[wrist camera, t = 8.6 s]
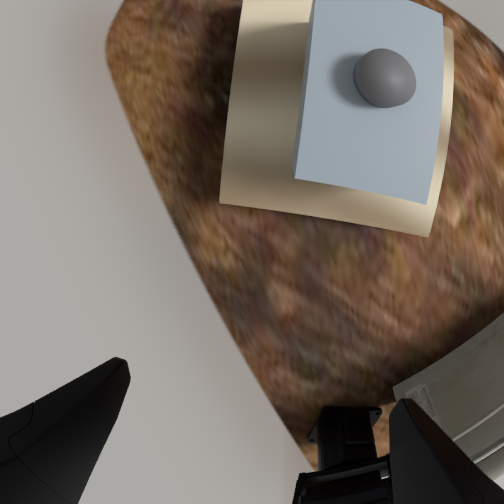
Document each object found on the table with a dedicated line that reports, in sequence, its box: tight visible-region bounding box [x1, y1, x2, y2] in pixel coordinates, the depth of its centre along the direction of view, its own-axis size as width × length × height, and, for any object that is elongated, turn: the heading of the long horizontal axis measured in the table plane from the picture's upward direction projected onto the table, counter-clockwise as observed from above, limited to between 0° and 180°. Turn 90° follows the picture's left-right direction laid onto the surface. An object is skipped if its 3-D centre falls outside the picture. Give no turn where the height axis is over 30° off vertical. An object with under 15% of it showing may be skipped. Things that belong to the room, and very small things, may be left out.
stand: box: [219, 0, 454, 237], centre depth 14 cm, size 13×12×3 cm
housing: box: [292, 0, 444, 205], centre depth 10 cm, size 8×5×6 cm, turn 173°
